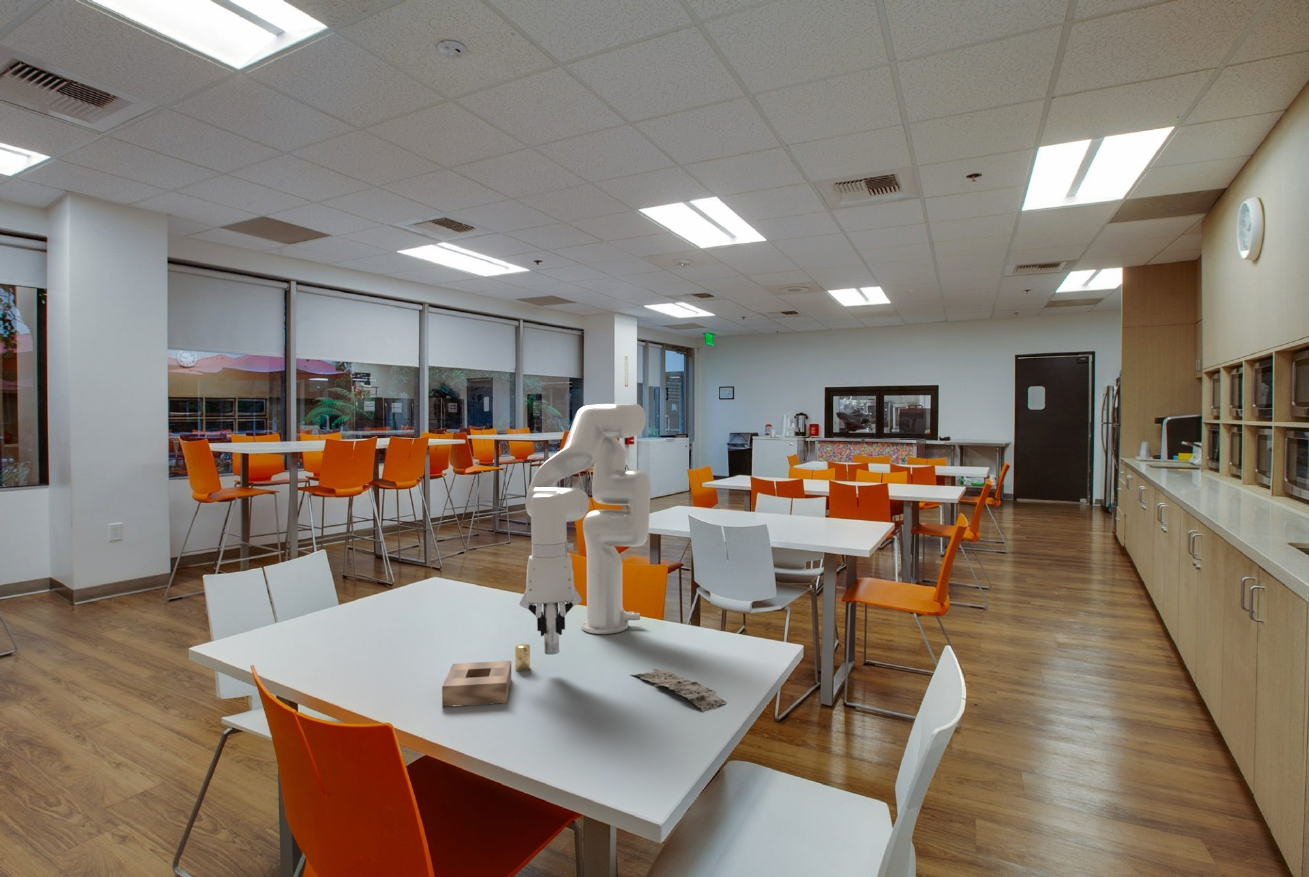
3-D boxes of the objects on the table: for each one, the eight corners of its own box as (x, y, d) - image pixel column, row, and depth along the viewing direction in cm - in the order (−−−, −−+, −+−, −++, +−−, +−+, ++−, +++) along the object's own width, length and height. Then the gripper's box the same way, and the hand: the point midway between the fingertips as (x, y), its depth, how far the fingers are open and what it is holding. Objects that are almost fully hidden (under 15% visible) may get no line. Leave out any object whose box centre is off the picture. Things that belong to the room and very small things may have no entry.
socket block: (511, 679, 136) (511, 660, 136) (506, 703, 124) (506, 682, 124) (452, 682, 134) (452, 663, 134) (442, 707, 123) (442, 686, 123)
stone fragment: (706, 719, 119) (738, 702, 127) (706, 704, 119) (738, 688, 127) (613, 681, 137) (645, 668, 144) (613, 668, 136) (645, 655, 144)
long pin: (559, 648, 141) (558, 594, 141) (559, 654, 138) (558, 599, 137) (544, 649, 141) (543, 595, 140) (544, 655, 138) (542, 600, 137)
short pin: (530, 665, 144) (530, 643, 144) (529, 670, 141) (529, 648, 141) (515, 666, 144) (515, 644, 144) (514, 671, 141) (514, 648, 141)
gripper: (587, 544, 143) (588, 625, 144) (511, 547, 141) (514, 629, 142) (588, 551, 136) (590, 637, 137) (509, 555, 133) (511, 642, 134)
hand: (551, 632), depth 139 cm, fingers closed on long pin, 3 cm apart
